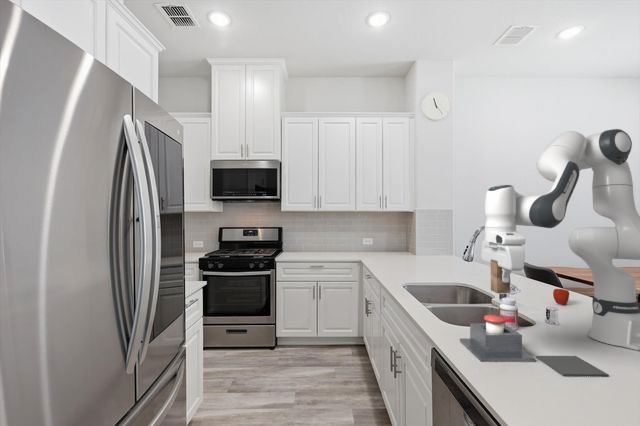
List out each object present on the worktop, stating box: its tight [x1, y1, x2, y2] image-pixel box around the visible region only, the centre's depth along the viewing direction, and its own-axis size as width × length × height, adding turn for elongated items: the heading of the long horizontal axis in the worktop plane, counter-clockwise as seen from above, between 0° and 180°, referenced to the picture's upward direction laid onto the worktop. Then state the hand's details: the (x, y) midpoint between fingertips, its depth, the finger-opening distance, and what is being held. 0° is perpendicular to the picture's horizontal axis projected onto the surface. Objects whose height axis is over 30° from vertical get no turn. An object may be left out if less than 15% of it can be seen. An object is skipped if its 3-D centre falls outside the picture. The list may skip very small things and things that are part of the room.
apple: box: [552, 288, 570, 306], centre depth 165 cm, size 6×6×8 cm
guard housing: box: [459, 322, 536, 363], centre depth 110 cm, size 16×16×7 cm
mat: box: [535, 355, 610, 378], centre depth 99 cm, size 12×12×1 cm
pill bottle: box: [498, 297, 519, 331], centre depth 132 cm, size 6×6×11 cm
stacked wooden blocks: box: [490, 259, 511, 294], centre depth 109 cm, size 4×4×10 cm
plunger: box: [483, 314, 505, 333], centre depth 110 cm, size 6×6×9 cm
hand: (500, 280), depth 109 cm, fingers closed on stacked wooden blocks, 4 cm apart
